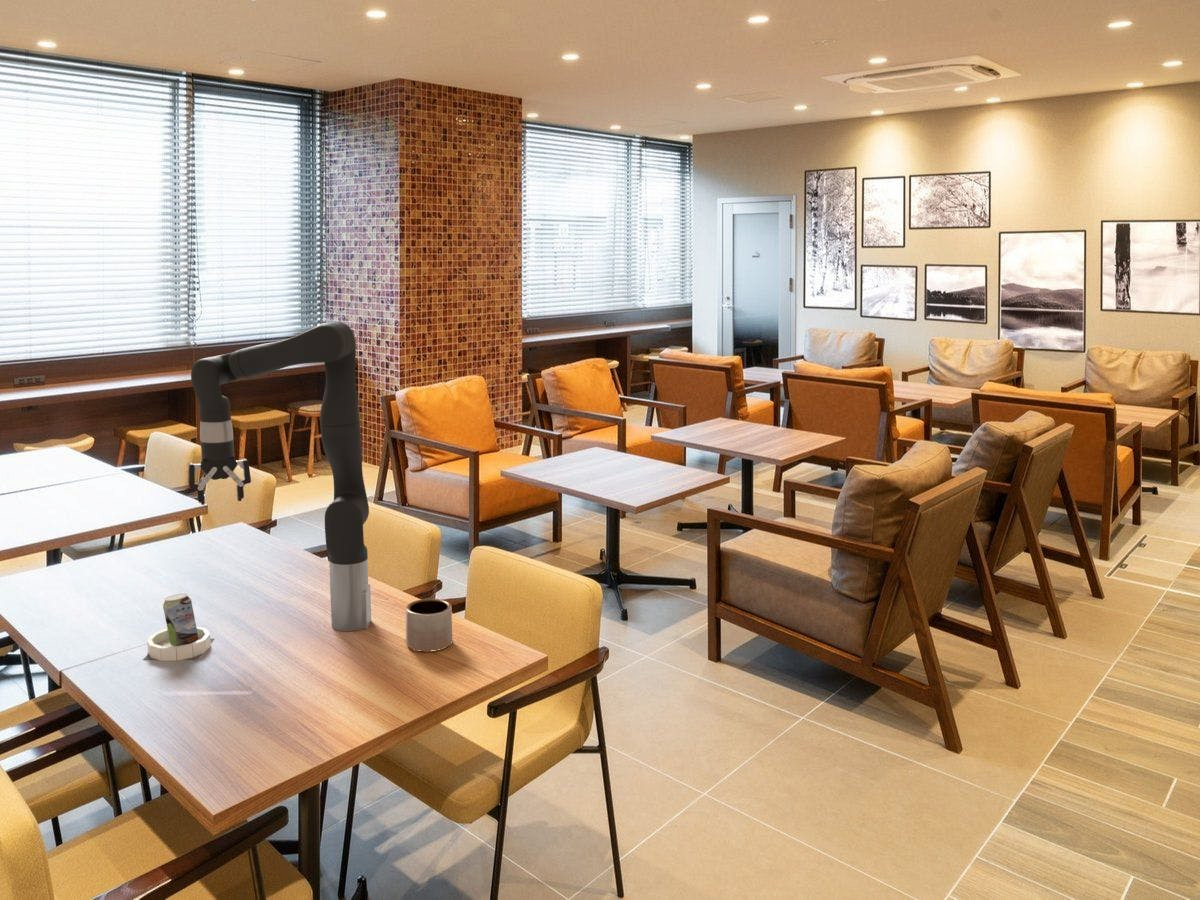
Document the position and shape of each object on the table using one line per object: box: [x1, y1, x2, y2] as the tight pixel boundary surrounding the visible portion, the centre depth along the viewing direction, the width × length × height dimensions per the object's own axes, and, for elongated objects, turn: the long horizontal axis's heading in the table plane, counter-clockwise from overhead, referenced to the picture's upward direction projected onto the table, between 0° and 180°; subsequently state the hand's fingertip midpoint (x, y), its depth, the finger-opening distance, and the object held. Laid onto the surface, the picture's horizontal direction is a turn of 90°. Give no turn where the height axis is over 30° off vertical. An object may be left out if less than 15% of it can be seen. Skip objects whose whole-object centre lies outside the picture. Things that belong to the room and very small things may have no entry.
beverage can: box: [162, 593, 198, 646], centre depth 221 cm, size 6×7×12 cm
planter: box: [405, 598, 453, 651], centre depth 228 cm, size 11×11×10 cm
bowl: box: [146, 625, 212, 662], centre depth 222 cm, size 13×13×3 cm
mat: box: [142, 638, 215, 661], centre depth 222 cm, size 12×12×1 cm
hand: (221, 502), depth 238 cm, fingers open, 8 cm apart
